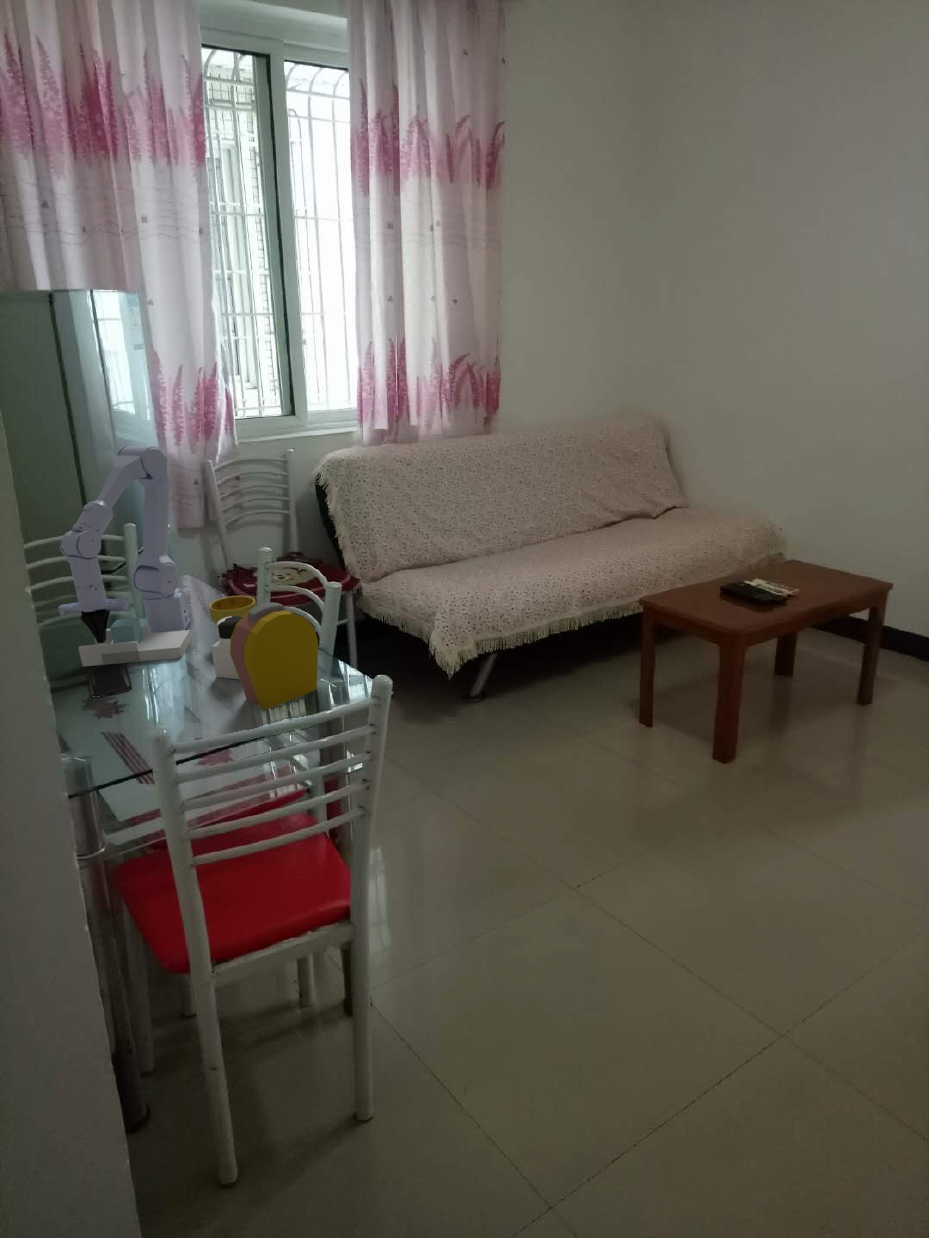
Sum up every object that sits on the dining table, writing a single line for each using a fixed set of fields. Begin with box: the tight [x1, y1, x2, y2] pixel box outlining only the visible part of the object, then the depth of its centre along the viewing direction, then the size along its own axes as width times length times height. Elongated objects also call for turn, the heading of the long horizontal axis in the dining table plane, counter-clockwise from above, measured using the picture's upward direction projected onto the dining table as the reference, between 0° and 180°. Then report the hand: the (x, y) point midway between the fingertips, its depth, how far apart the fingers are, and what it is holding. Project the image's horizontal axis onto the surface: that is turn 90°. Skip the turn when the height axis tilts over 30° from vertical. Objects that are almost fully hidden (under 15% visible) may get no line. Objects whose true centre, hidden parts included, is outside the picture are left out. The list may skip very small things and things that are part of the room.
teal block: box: [109, 617, 143, 644], centre depth 190 cm, size 5×5×5 cm
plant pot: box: [208, 595, 257, 628], centre depth 193 cm, size 10×10×10 cm
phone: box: [87, 663, 133, 697], centre depth 178 cm, size 8×1×15 cm
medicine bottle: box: [210, 616, 243, 680], centre depth 176 cm, size 7×7×12 cm
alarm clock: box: [230, 601, 319, 711], centre depth 164 cm, size 15×8×18 cm, turn 133°
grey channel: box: [78, 624, 193, 668], centre depth 192 cm, size 22×11×4 cm, turn 95°
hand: (101, 641), depth 191 cm, fingers closed
